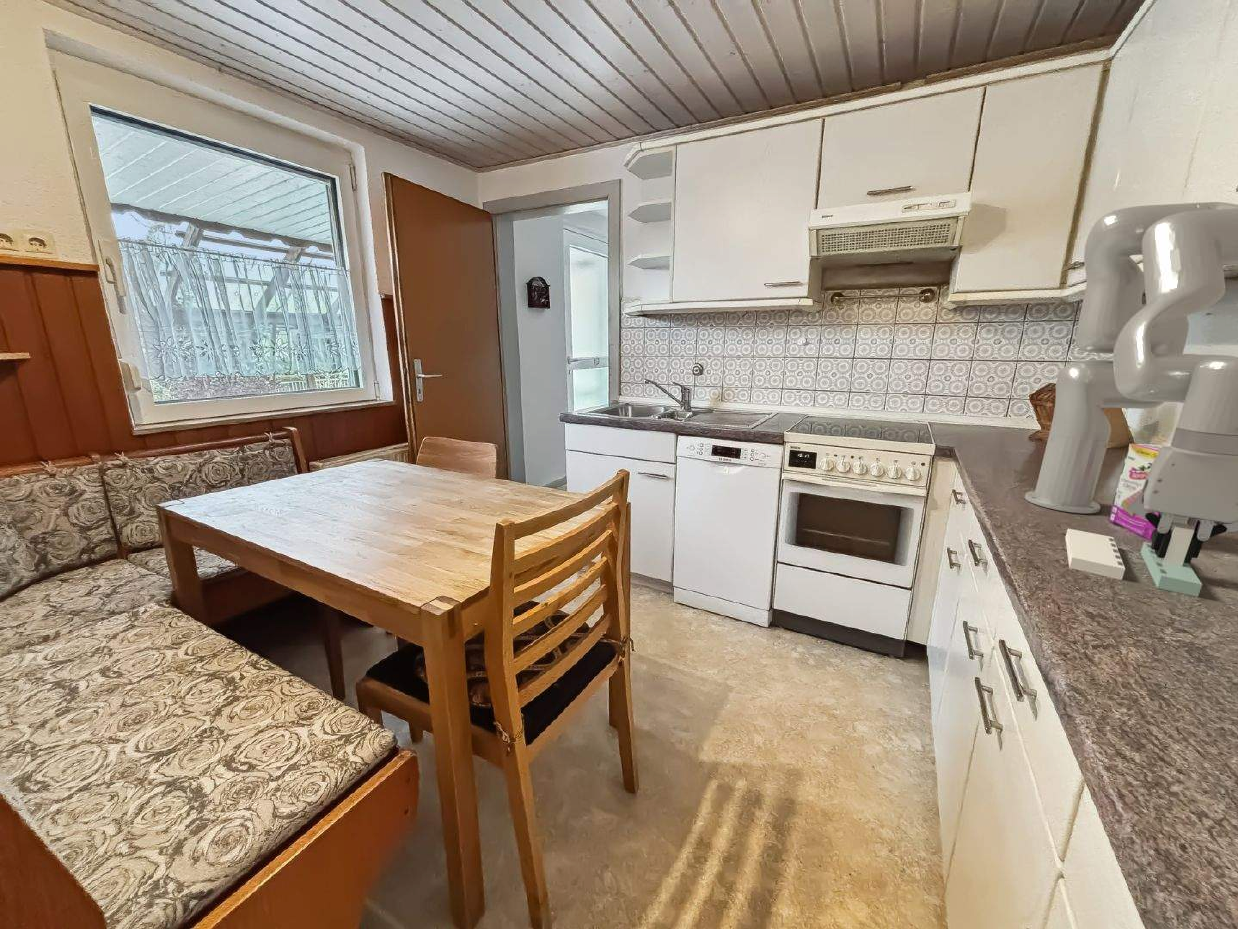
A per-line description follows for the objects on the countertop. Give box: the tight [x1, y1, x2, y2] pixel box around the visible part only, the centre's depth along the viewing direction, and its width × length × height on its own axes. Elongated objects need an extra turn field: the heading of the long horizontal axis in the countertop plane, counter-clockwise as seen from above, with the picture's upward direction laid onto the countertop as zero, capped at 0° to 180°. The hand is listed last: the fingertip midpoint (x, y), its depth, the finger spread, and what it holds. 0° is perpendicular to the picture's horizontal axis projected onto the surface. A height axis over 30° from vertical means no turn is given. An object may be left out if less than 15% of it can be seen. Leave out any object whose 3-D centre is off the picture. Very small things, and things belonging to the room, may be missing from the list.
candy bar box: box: [1107, 442, 1191, 543], centre depth 91 cm, size 11×5×16 cm, turn 168°
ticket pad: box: [1065, 528, 1126, 581], centre depth 82 cm, size 16×6×2 cm, turn 140°
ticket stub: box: [1140, 522, 1203, 598], centre depth 76 cm, size 16×4×8 cm, turn 140°
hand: (1171, 556), depth 76 cm, fingers closed on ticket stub, 2 cm apart
